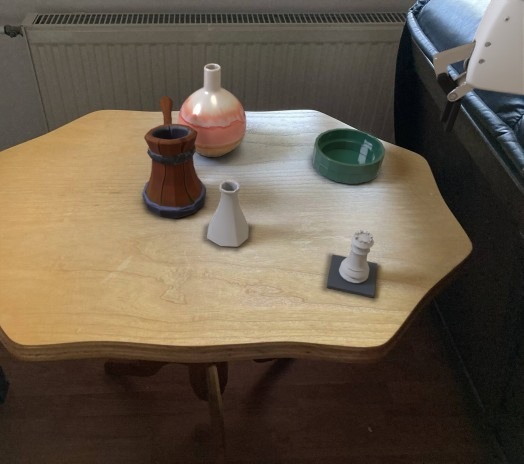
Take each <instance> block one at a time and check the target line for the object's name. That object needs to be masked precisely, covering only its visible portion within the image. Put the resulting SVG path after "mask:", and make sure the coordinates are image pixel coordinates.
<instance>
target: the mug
mask: <svg viewBox="0 0 524 464" xmlns="http://www.w3.org/2000/svg"><path fill="white" fill-rule="evenodd" d="M158 104H159V107H160V109H161V114H162V115H163V116H162V117H163V124H160V125H158V126H155V127H153V128H150V129H149V130H148V131H147V132H146V133H145V135H143V136H144V137H143V138H144V141H145V142H146V145H147V146H148V147H147V150H146V153H147V155H148V156H149V158H150V159H151V168H150V169H151V171H150V176H149V179H148V181H146V182H145V184H144V187H143V190H142V193H141V194H142V195H141V196H142V198H143V199H142V200H143V201H144V203H145V206H146V207H147V210H148V211H149V212H151V213H154V214H155V215H158V216H159V217H163V218H170V219H171V218H172V219H179V218H182V217H183V218H184V217H186V216H189V215H192V214H194V213H195V212H197V211H198V210H200V209H201V208H203V207H204V205H205V199H206V195H207V188H206V185H204V183H203V182H202V180H201V178H199V176H198V174H197V172H196V169H195V164H194V162H195V161H194V155H195V153H196V152H195V150H196V147H195V145H194V144H195V141H196V137H197V133H198V132H197V131H196V130H194V129H193V128H191V127H190V126H188V125H182V124H178V123H173V117H172V112H173V105H174V101H173V99H171V97H170V96H169V95H165V96H161V98H160V99H159V101H158Z"/></svg>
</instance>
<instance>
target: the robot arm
mask: <svg viewBox="0 0 524 464" xmlns="http://www.w3.org/2000/svg"><path fill="white" fill-rule="evenodd" d="M462 61H463V70H464V72H462V73H461V74H459V75H457V76H456V77H452V75H451V74H450V72H449V71H448V67H449V66H450V65H452V64H455V63H458V62H462ZM432 65H433V68H434V73H435V78H436V82H437V84H438V85H439V87H440V88H441V90H442V92H443V93H444V94H445V95H446V96H445V99H444V102H443V106H442V108H441V111H440V115H439V122H441V123H443V133H446V134H450V133H452V131H453V129H454V125H455V123H456V120H457V118H458V115H459V112H460V110H461V106H462V99H461V98H462V97H464V96H466V95H467V94H468V93H470V92H471V91H474V90H475V89H477V90H483V91H489V92H498V93H504V94H510V95H519V96H524V0H490V1H489V3H488V4H487V7H486V8H485V11H484V13H483V15H482V17H481V19H480V21H479V23H478V26H477V28H476V30H475V33H474V36H473V38H472V40H471V42H468V43H464V44H462V45H458V46H456V47H453V48H452V47H451V48H449V49H446V50H443V51H440V52H437V53H434V54H433V56H432Z"/></svg>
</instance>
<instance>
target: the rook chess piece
mask: <svg viewBox="0 0 524 464" xmlns="http://www.w3.org/2000/svg"><path fill="white" fill-rule="evenodd" d="M370 233H371V232H370V231H368V230H366V232H364V229H360V230H359V231H358V230H357V231H355V232H354V234H353V235H351V238H350V241H351V245H350V252H349V255H347V256H346V257H347V258H345V259H344V260H343V261H342V262H341V266H340V268H339V272H340V275H341V276H342V277H343V278H344V279H345V280H346V281H348V282H351V283H360V282H363V281H365V280H366V279H367V278H368V275H369V266H368V263H367V261H368V254H369V253H370V252H371V248H372V247H373V246H374V245H375V240H374V236H373V234H370Z"/></svg>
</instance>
